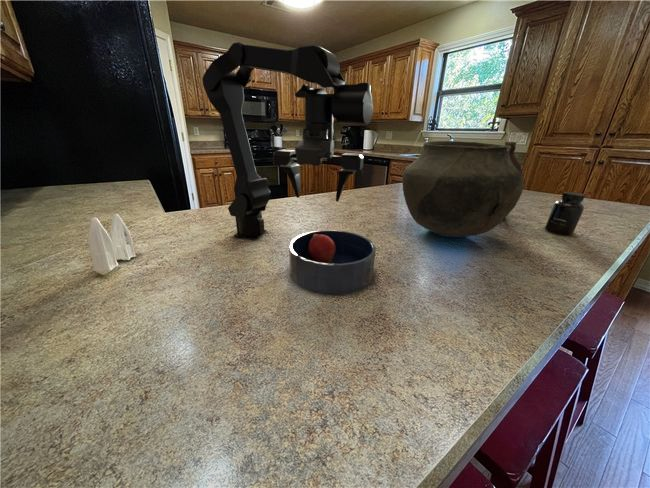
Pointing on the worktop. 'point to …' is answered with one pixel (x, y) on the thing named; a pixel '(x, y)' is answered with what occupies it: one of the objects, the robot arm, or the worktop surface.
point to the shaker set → (109, 244)
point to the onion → (321, 248)
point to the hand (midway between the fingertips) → (317, 199)
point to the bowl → (333, 263)
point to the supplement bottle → (565, 214)
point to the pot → (461, 187)
